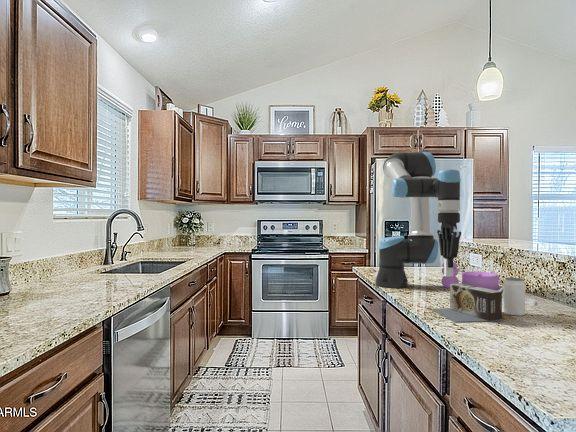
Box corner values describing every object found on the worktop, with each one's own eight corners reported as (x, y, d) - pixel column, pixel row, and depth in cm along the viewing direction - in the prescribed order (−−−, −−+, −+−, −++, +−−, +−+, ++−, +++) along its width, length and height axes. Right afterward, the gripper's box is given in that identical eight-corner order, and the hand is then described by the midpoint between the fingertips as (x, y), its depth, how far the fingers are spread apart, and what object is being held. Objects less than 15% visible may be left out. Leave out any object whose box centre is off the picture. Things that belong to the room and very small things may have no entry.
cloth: (547, 307, 142) (547, 291, 142) (497, 307, 142) (497, 291, 142) (512, 294, 164) (512, 280, 164) (469, 294, 164) (469, 280, 164)
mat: (431, 309, 136) (431, 308, 136) (473, 308, 138) (473, 307, 138) (455, 322, 120) (455, 321, 120) (502, 321, 122) (502, 320, 122)
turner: (477, 307, 139) (477, 304, 139) (486, 307, 139) (486, 304, 139) (504, 319, 124) (504, 316, 124) (514, 319, 124) (514, 315, 124)
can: (505, 310, 135) (505, 276, 135) (526, 313, 131) (526, 278, 131) (501, 314, 130) (501, 279, 130) (523, 317, 126) (523, 281, 126)
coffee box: (449, 284, 136) (488, 292, 121) (462, 282, 138) (502, 290, 123) (449, 309, 136) (488, 321, 121) (462, 307, 138) (503, 318, 123)
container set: (489, 284, 184) (489, 257, 184) (505, 291, 169) (505, 261, 169) (436, 284, 186) (436, 257, 186) (447, 290, 171) (447, 261, 171)
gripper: (430, 212, 145) (430, 273, 146) (448, 211, 132) (448, 279, 133) (449, 212, 146) (449, 273, 146) (468, 211, 133) (468, 279, 133)
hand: (448, 276), depth 139 cm, fingers closed
